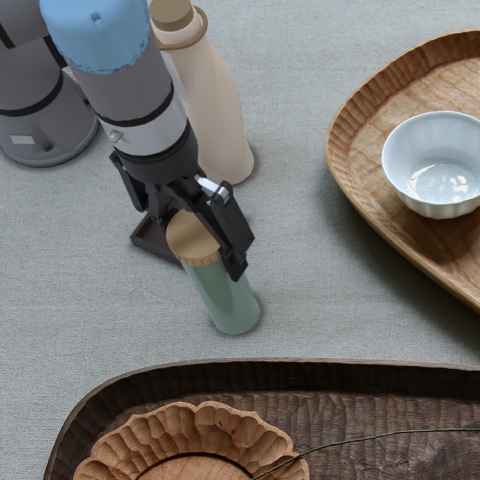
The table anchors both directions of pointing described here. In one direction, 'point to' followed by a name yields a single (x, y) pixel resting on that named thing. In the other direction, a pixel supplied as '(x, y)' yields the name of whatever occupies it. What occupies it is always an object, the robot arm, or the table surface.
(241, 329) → the thermos flask
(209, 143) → the water bottle
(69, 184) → the table surface
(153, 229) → the lid tray
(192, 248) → the lid
